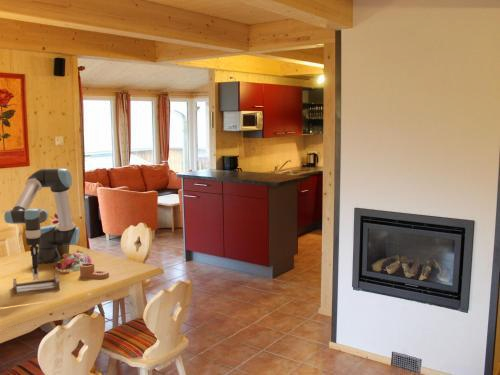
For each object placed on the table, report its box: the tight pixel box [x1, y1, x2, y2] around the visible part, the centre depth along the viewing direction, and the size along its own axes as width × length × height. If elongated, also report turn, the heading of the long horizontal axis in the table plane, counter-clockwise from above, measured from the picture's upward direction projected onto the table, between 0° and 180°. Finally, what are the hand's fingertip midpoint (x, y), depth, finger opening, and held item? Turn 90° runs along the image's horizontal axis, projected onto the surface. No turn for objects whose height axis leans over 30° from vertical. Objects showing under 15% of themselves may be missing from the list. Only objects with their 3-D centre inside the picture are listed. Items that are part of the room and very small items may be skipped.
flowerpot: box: [52, 213, 70, 257], centre depth 346 cm, size 14×14×30 cm
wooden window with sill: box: [12, 273, 60, 297], centre depth 277 cm, size 17×23×4 cm
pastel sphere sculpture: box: [53, 249, 93, 273], centre depth 320 cm, size 25×24×9 cm
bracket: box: [79, 262, 110, 280], centre depth 299 cm, size 18×8×7 cm, turn 75°
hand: (35, 278), depth 277 cm, fingers open, 5 cm apart
